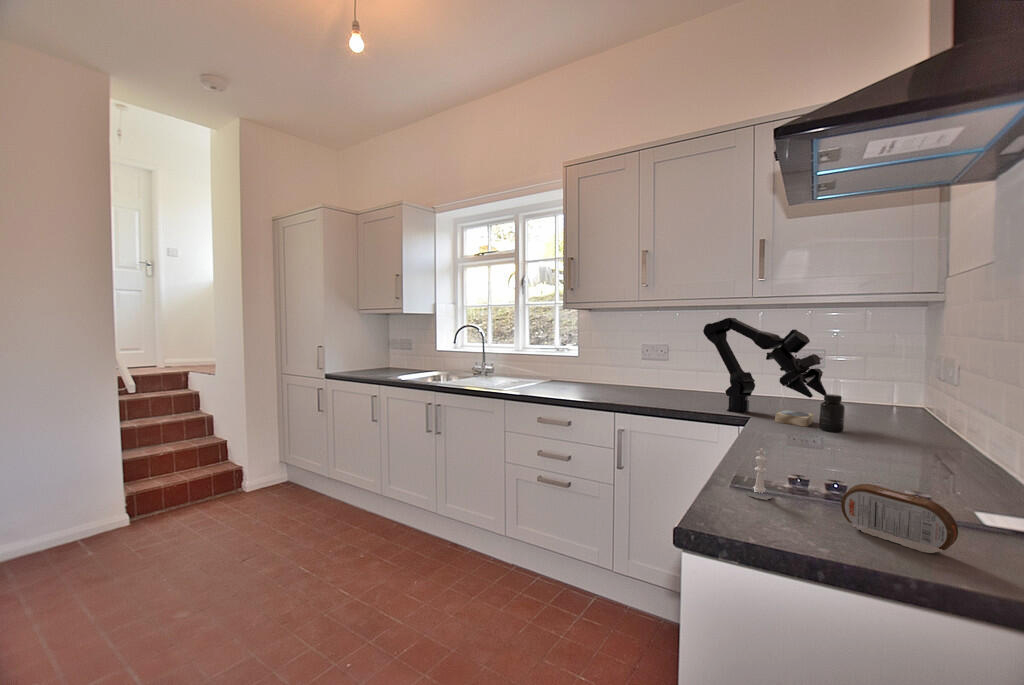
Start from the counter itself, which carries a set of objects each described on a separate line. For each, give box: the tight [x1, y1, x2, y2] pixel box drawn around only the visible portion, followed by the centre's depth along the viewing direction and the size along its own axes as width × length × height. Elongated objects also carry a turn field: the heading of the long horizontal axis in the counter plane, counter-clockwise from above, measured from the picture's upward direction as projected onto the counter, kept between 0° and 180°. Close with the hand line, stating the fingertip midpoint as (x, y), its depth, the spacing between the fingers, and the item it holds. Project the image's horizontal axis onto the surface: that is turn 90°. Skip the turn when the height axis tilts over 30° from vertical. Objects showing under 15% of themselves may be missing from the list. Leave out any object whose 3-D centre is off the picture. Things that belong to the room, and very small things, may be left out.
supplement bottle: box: [818, 393, 846, 433], centre depth 153 cm, size 7×7×12 cm
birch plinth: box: [774, 409, 815, 427], centre depth 166 cm, size 10×10×3 cm
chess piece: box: [752, 448, 767, 493], centre depth 95 cm, size 5×5×10 cm
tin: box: [840, 483, 959, 551], centre depth 76 cm, size 15×3×8 cm, turn 35°
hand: (818, 395), depth 157 cm, fingers open, 9 cm apart
